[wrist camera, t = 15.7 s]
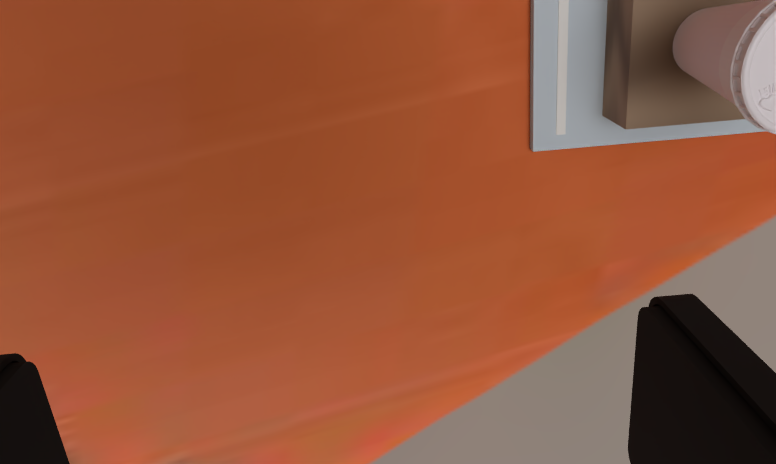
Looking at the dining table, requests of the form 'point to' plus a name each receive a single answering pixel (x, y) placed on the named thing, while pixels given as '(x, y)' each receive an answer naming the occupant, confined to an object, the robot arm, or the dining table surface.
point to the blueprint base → (589, 87)
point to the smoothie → (734, 56)
